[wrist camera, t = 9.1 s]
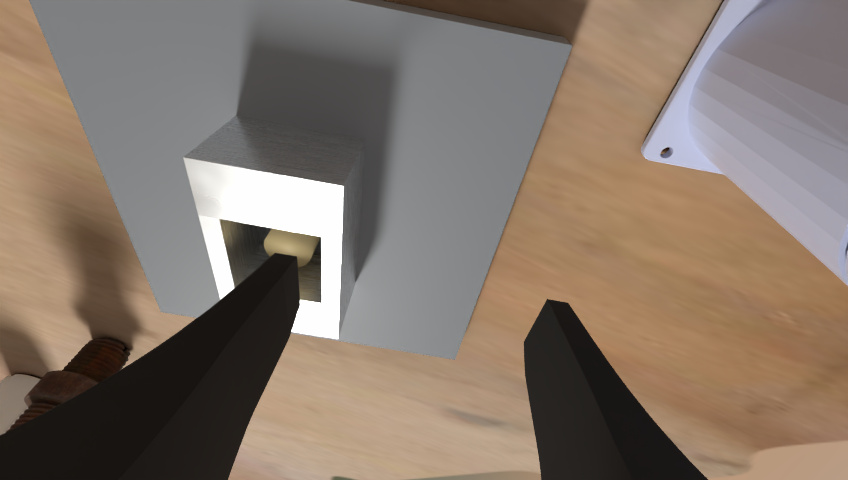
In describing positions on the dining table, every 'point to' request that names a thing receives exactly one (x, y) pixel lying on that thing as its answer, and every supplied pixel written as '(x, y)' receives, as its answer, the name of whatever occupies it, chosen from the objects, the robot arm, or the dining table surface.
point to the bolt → (74, 377)
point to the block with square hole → (282, 208)
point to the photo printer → (14, 398)
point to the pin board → (325, 111)
